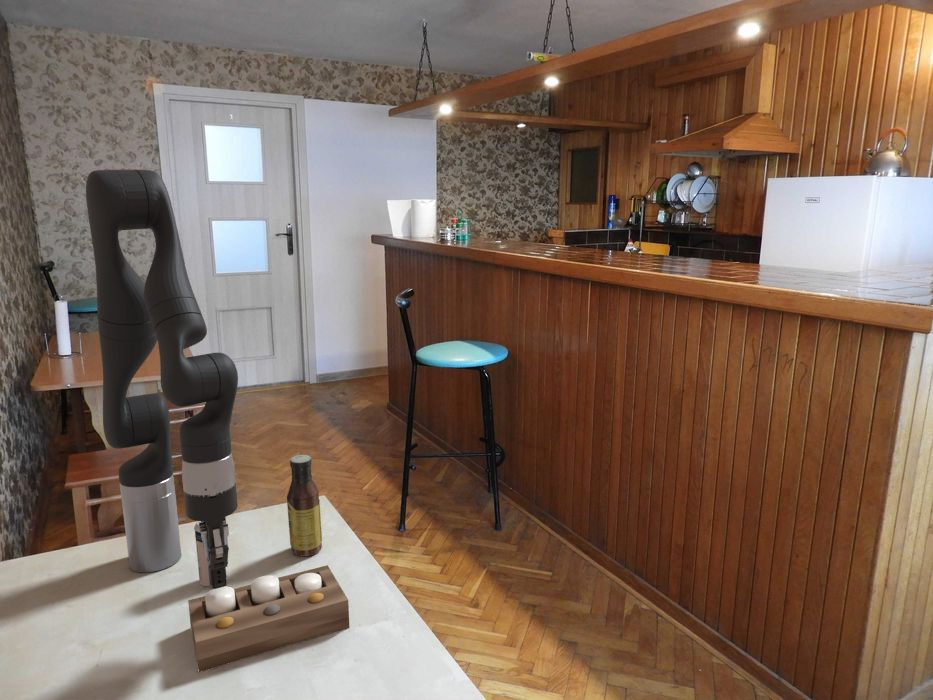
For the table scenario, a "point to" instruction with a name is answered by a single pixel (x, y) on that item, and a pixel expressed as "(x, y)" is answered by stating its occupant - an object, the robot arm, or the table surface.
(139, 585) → the table surface
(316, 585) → the button
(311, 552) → the sauce bottle
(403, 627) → the table surface
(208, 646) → the button board
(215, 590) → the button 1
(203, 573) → the beer can
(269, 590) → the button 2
